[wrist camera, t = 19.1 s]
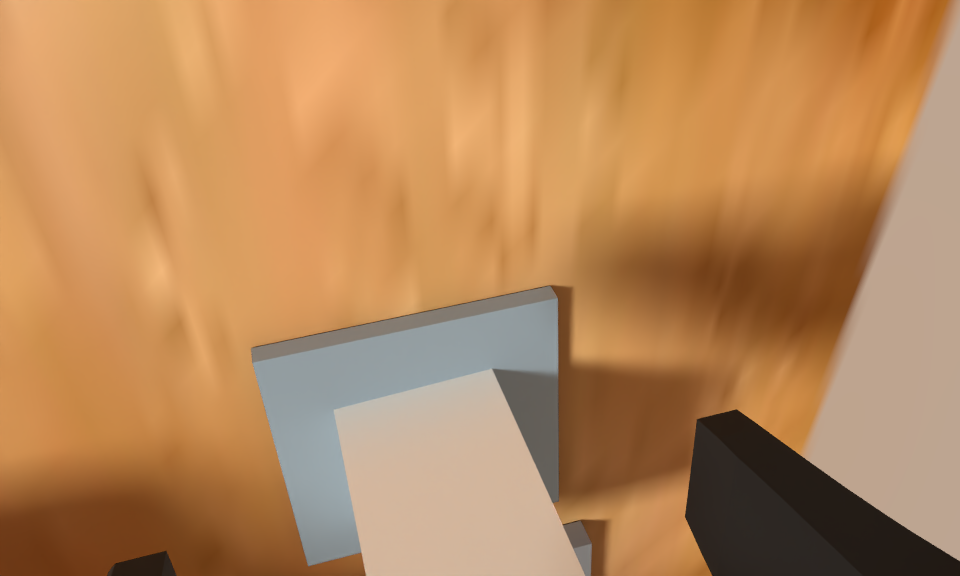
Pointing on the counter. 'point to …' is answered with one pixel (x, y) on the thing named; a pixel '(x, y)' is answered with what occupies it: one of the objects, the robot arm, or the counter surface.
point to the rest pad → (397, 368)
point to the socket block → (580, 544)
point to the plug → (449, 485)
